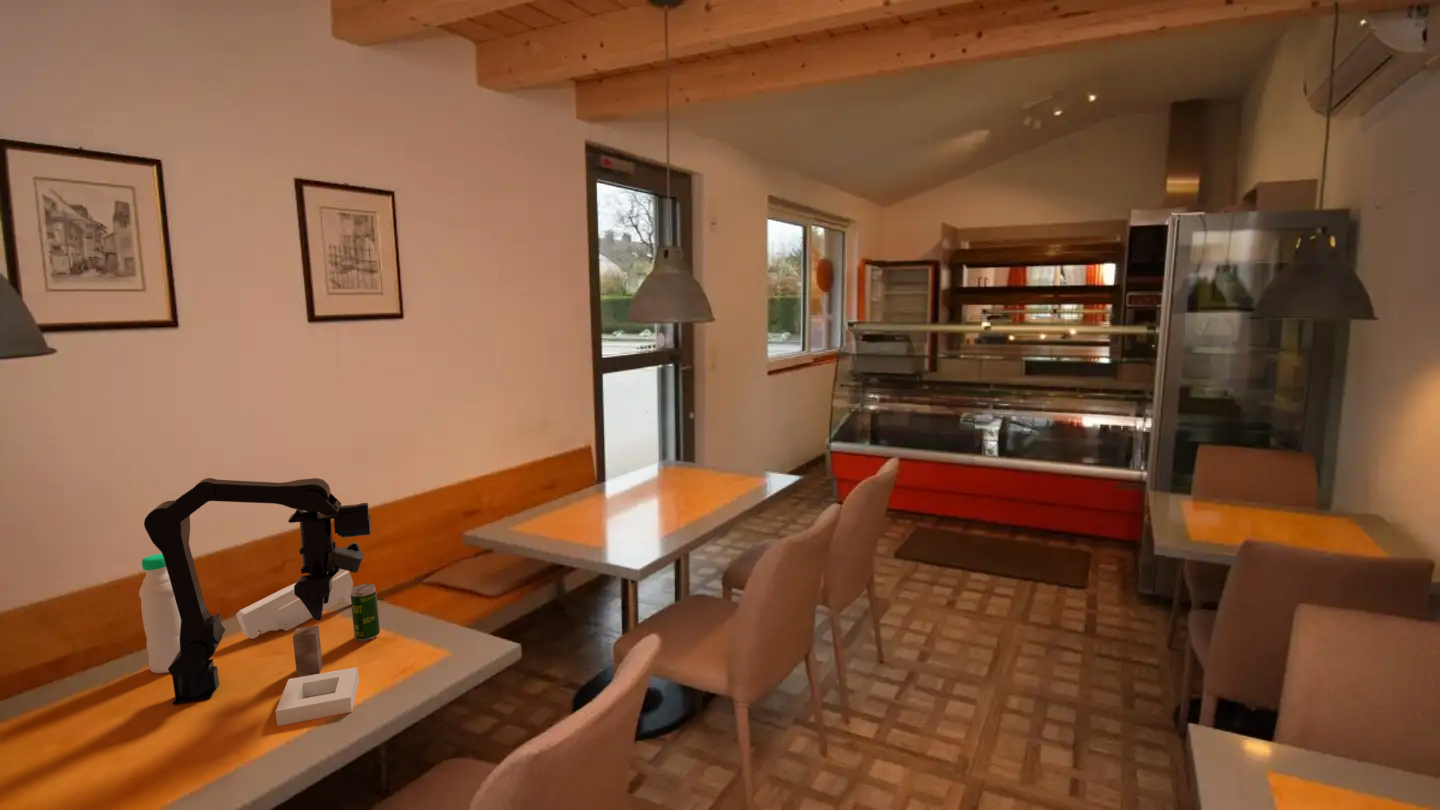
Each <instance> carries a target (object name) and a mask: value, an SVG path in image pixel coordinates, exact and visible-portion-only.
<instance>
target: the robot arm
mask: <svg viewBox="0 0 1440 810" xmlns="http://www.w3.org/2000/svg"><path fill="white" fill-rule="evenodd" d="M208 502H227V503H247V504H248V503H249V504H250V503H251V504H254V503H255V504H270V505H271V504H275V505H281V506H285V507H287V508H289V509H293V510H295V512H294V513H292V514H291V515H290V517H289V519H288V523H289V524H294V523H299V530H300V531H299V532H300V544H301V545H300V548H299V555H301V558H302V559H301V560H302V566H301V568H300V574H303V575H301V576H300V577H299V578H298V579H297V580H296V582H295V583H296V584H295V586H294V593H295V596H297V597H298V598H300V600H301V601H302V602H303V604H304V605H305V606H306V608H307V609H308V611H309V612H310V614H311V615H312V618H313V620H314V621H315V622H317V621H321V620H322V616H323V612H324V611H323V604H325V603H328V600H329V595H330V591H331V588H332V577H333V576H334V575H335V574H336V573H337V572H338V571H339V569H343V570H347V571H349V572H350V573H354V574H355V573H359V570H360V568H361V567H360V566H361V564H362V560H363V558H364V555H365V553H364V551H363V550H361V548H360V544H359V543H356V542H350V543H349V545H347V546H346V547H345V546H343V547H338V546H337V542H336V541H335V539H333V528H334V534H337V536H338V537H339V536H340V538H343V539H344V538H353V537H362V536H363V537H364V536H370V535H371V534H372V522H371V521H372V520H371V519H372V518H371V514H370V509H369V503H368V502H360V503H358V504H357V503H356V504H347V505H342V503H341V501H340V500H339V499H338V498H336V496H335V495H333V494H332V492H331V487H330V485H329V484H328V482H326V481H325V480H324V479H322V478H318V477H314V478H313V477H312V478H305V479H296V480H291V481H284V482H271V481H270V482H269V481H251V480H232V479H217V478H216V479H215V478H212V477H207V478H206V477H205V478H204V479H202V480H200V481H199V482H198V483H197V484H195V485H194V486H193V487H192V488H191V489H189V490H188V491H186V492H184V494H182V495H180V496H179V497H178V498H177V499H175V500H174V499H173V500H167V501H164V502H162V503H160V504H159V505H157V506H156V507H154V509H152V510H151V511H150V512H149V513H148V514H147V516H145V518H144V521H143V526H144V530H145V531H146V533H147V535H148V537H149V538H150V541H151V542H152V544H153V545H154V546H155V547H156V548H157V550H158V551H160V552H161V553H160V554H163V557H164V561H165V564H166V568H167V572H168V575H169V579H170V582H171V586H172V589H173V593H174V597H175V600H176V604H177V607H178V611H179V614H180V618H181V628H180V651H179V653H178V654H177V656H176V657H175V659H174V660H173V662H172V663H171V665H170V666H169V668H168V671H169V672H168V673H169V674H170V675H171V678H172V683H173V693H174V699H173V700H172V705H174V706H175V705H181V704H186V703H187V704H188V703H192V702H197V701H203V700H208V699H211V698H212V697H213V695H214V693H215V692H216V691H217V689H218V687H219V685H220V678H219V672H218V671H219V670H218V666H216V665H214V664H215V663H214V659H213V658H212V657H213V656H214V654H215V653H216V650H217V649H218V647H219V646H220V644H221V641H222V640H223V636H224V634H225V632H226V628H225V627H224V626H223V624H222V615H221V613H219V612H218V613H216V614H214V615H213V614H212V613H211V612H210V611H209V610H208V609H207V606H206V602H205V599H204V595H203V591H202V588H201V584H200V581H199V577H198V576H199V575H198V573H197V570H196V569H197V568H196V565H195V561H194V558H193V554H192V551H191V547H190V536H191V533H190V532H191V515H192V514H194V513H196V512H197V510H199V509H200V508H201V507H203V506H204V505H205V504H207V503H208ZM332 520H334V521H333V525H334V526H333V528H332Z"/></svg>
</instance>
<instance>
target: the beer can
mask: <svg viewBox="0 0 1440 810" xmlns="http://www.w3.org/2000/svg"><path fill="white" fill-rule="evenodd" d="M350 595H351V604H350V605H351V613H352V614H351V616H352V625H353V626H352V627H353V634H354V635H353V636H354V638H355V639H356V641H358V642H367V641H366V640H369V639H372V638H374V637H376V636H377V635H378V634H379V635H380V632H381V627H380V619H379V618H380V617H379V605H378V597H377V589H376V587H375V584H373V583H364V584H362V583H361V584H358V585H356V586H353V588H352V589H351V594H350ZM379 635H378V636H379ZM376 638H377V637H376ZM372 640H373V639H372ZM369 641H370V640H369Z"/></svg>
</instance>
